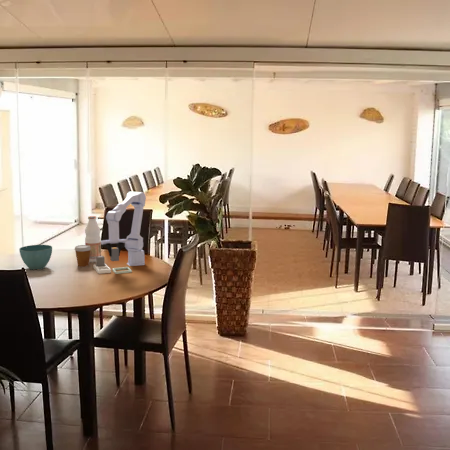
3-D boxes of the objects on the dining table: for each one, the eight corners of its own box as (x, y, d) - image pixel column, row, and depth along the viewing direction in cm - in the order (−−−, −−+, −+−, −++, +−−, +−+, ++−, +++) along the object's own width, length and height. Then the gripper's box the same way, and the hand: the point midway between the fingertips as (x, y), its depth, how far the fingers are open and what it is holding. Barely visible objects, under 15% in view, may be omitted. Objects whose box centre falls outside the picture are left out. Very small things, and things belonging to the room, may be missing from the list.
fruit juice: (90, 263, 343) (88, 218, 339) (83, 260, 350) (81, 216, 346) (104, 261, 349) (102, 216, 345) (97, 258, 356) (95, 214, 352)
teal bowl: (43, 272, 321) (42, 251, 319) (14, 271, 324) (12, 250, 322) (58, 265, 338) (57, 245, 336) (31, 263, 342) (29, 244, 340)
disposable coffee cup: (87, 268, 331) (86, 248, 329) (72, 267, 333) (71, 247, 331) (94, 264, 340) (93, 245, 339) (79, 264, 342) (78, 244, 340)
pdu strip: (105, 267, 334) (105, 263, 334) (110, 273, 319) (110, 269, 319) (93, 268, 331) (93, 264, 331) (98, 274, 317) (98, 270, 316)
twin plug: (103, 267, 331) (103, 255, 330) (104, 268, 328) (104, 256, 327) (96, 268, 330) (96, 256, 329) (97, 269, 326) (97, 257, 325)
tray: (128, 269, 329) (127, 266, 328) (131, 273, 320) (131, 270, 320) (112, 270, 325) (112, 268, 325) (115, 274, 317) (115, 271, 317)
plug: (117, 259, 324) (117, 246, 322) (119, 260, 320) (118, 248, 319) (110, 259, 322) (110, 247, 321) (112, 261, 318) (111, 248, 317)
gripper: (102, 234, 312) (103, 258, 314) (128, 232, 318) (128, 256, 320) (99, 232, 318) (100, 255, 321) (125, 230, 324) (125, 253, 326)
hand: (114, 255), depth 321 cm, fingers closed on plug, 4 cm apart
